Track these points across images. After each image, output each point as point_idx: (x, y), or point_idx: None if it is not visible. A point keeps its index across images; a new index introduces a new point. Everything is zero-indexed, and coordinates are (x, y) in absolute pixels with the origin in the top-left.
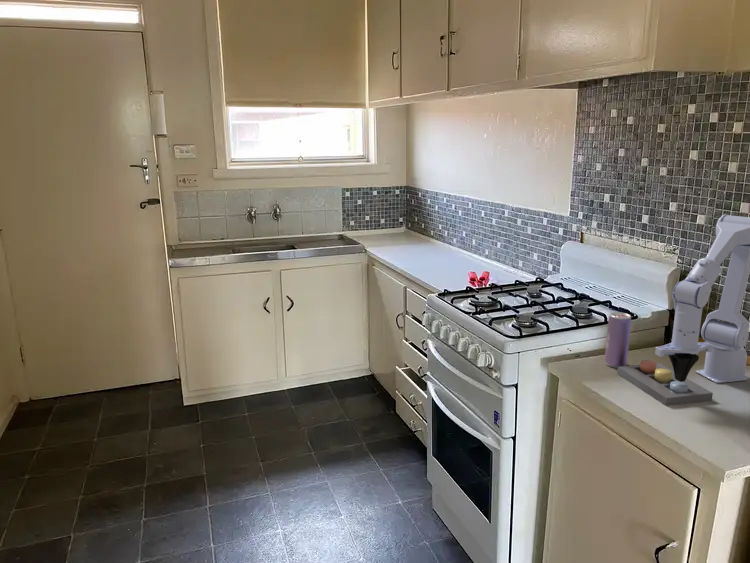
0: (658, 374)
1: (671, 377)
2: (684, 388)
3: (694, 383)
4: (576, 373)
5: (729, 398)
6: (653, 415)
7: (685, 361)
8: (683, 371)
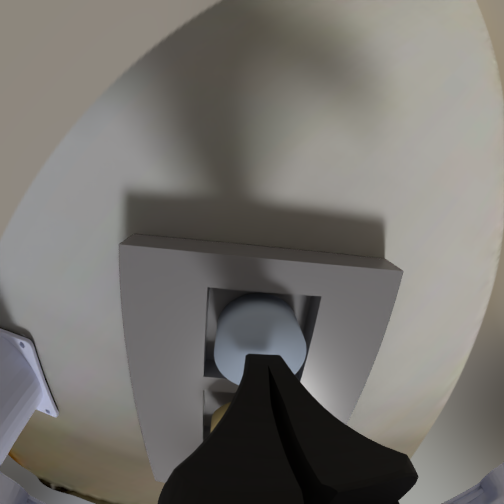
0: None
1: (220, 418)
2: (267, 314)
3: (133, 356)
4: None
5: (53, 227)
6: (471, 209)
7: (364, 463)
8: (298, 398)
